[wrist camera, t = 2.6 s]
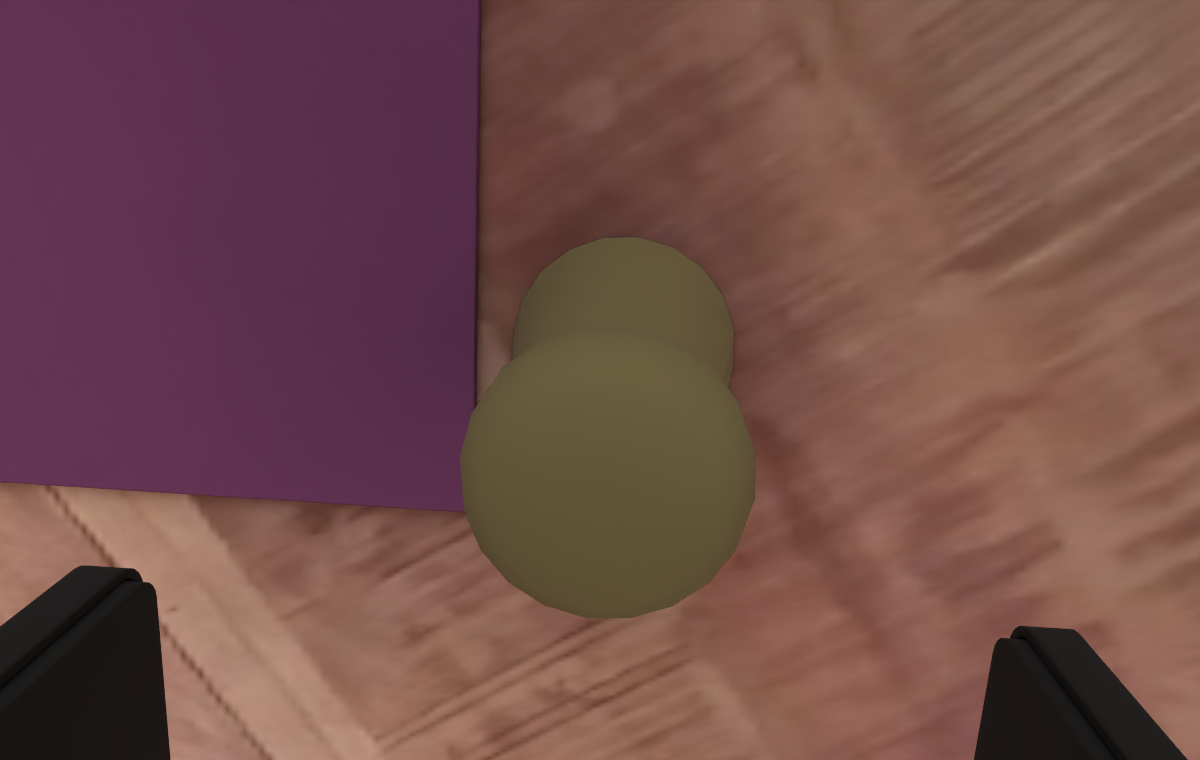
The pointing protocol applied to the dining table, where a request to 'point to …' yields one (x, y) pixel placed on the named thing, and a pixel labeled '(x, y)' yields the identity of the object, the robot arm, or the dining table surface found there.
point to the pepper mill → (612, 436)
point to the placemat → (240, 247)
